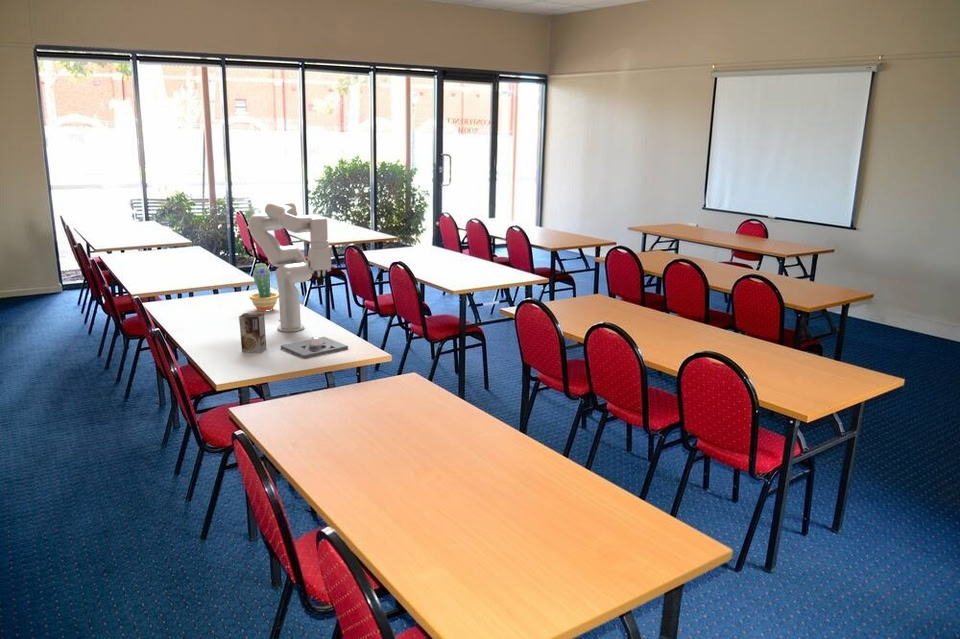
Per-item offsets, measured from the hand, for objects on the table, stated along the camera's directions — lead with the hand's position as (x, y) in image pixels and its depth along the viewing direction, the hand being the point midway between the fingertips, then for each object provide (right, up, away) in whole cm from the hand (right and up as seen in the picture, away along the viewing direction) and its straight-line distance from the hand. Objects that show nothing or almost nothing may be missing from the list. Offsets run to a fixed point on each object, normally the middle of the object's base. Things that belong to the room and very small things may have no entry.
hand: (320, 284), depth 334 cm
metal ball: (+1, -26, -13) cm, 29 cm away
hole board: (0, -29, -10) cm, 31 cm away
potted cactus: (-42, -11, +59) cm, 73 cm away
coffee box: (-26, -30, -14) cm, 42 cm away
